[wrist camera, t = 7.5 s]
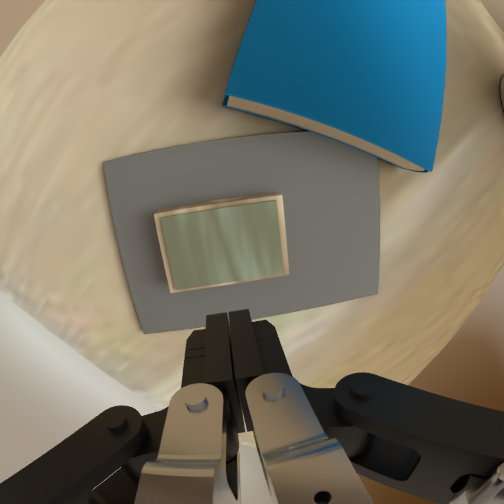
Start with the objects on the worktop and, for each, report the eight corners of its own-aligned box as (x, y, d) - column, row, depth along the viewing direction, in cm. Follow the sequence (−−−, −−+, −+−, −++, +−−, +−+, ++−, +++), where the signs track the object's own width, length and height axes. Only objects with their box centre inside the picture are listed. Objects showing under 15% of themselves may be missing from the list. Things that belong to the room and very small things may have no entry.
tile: (283, 195, 20) (153, 214, 19) (290, 276, 22) (170, 294, 21) (276, 192, 22) (158, 209, 21) (283, 265, 24) (173, 282, 23)
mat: (371, 131, 22) (374, 130, 22) (374, 291, 27) (377, 293, 26) (105, 162, 20) (103, 162, 20) (144, 330, 25) (143, 334, 24)
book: (223, 96, 16) (297, -100, 10) (221, 109, 20) (287, -77, 14) (438, 175, 19) (447, -27, 13) (408, 172, 23) (426, -14, 17)
